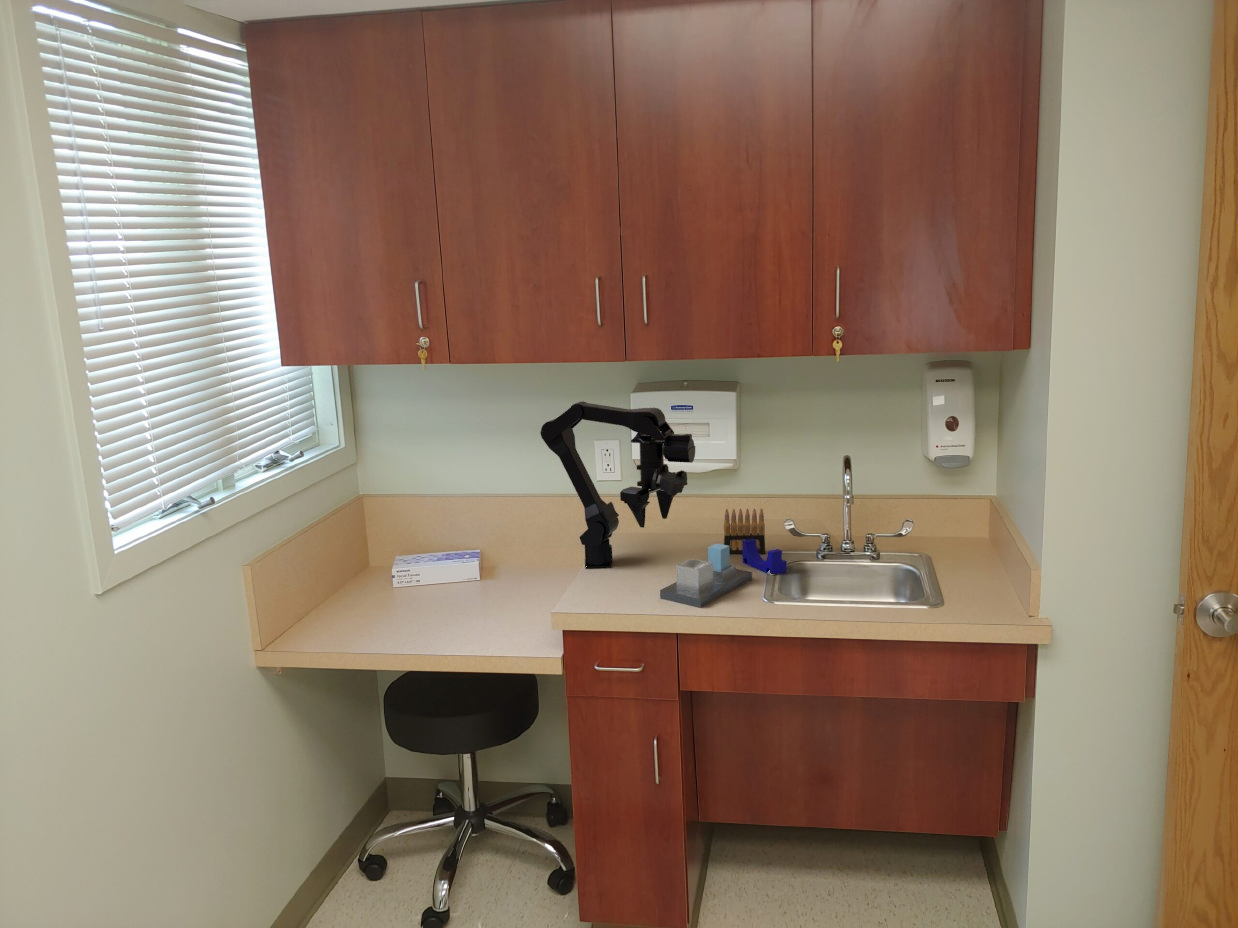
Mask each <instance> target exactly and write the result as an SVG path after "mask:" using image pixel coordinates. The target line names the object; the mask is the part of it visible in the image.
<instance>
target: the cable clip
mask: <svg viewBox="0 0 1238 928" xmlns="http://www.w3.org/2000/svg"><path fill="white" fill-rule="evenodd" d="M742 546H743V555H742V564H745V565H747V566H748V567H749V566H750V567H751V568H753V569H755V570H758V571H760V572H763V573H765V574H767V572H768V571H769V570H770V573H771V574H776V576H777V575H781V574H786V573H787V572H788V571H787V570H788V568H787V567H788V561H786V560H785V559H783V551H782V550H781V549H778V548H776V549H772V550H767V556H766V559H765V560H764V559H763V558H762V556H761V554H759V552H758V550H757V546H756V540H755V539H748V540H743V541H742Z"/></svg>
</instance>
